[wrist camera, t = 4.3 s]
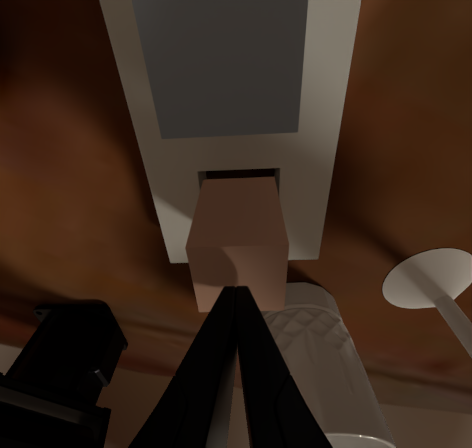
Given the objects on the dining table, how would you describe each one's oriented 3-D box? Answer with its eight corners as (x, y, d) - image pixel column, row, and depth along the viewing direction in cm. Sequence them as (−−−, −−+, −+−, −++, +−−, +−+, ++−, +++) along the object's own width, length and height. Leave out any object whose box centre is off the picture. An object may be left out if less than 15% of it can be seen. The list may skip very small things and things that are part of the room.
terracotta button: (210, 235, 15) (199, 311, 11) (203, 179, 13) (185, 247, 9) (272, 233, 15) (284, 310, 11) (274, 176, 13) (289, 244, 9)
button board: (178, 237, 19) (170, 263, 17) (-4, -553, 6) (-134, -862, 4) (309, 233, 18) (318, 259, 16) (423, -630, 5) (531, -1027, 3)
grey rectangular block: (191, 98, 11) (161, 138, 7) (176, -14, 9) (120, -51, 5) (276, 93, 11) (298, 132, 7) (280, -22, 9) (313, -67, 5)
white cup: (228, 305, 23) (220, 456, 15) (305, 259, 20) (349, 420, 12) (285, 343, 26) (304, 484, 18) (359, 309, 23) (423, 463, 15)
